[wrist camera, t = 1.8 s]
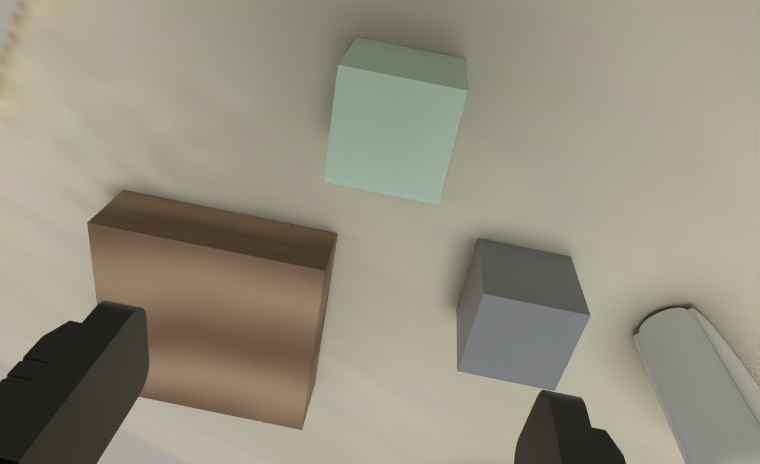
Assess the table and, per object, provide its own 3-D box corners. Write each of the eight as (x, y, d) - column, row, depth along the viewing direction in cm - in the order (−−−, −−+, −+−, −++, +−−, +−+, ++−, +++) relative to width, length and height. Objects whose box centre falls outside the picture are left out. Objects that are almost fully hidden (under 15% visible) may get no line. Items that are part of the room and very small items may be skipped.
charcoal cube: (478, 237, 30) (483, 293, 26) (570, 256, 30) (590, 315, 26) (456, 309, 33) (457, 370, 28) (540, 326, 33) (554, 390, 28)
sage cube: (357, 36, 25) (337, 64, 21) (465, 58, 25) (468, 90, 21) (342, 138, 28) (322, 182, 24) (440, 158, 28) (438, 205, 24)
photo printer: (773, 403, 34) (921, 635, 23) (702, 430, 35) (810, 658, 25) (693, 290, 30) (823, 502, 20) (619, 326, 32) (702, 539, 21)
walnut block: (127, 186, 31) (87, 222, 28) (338, 230, 31) (325, 271, 28) (139, 345, 37) (107, 390, 34) (315, 381, 37) (301, 429, 34)
